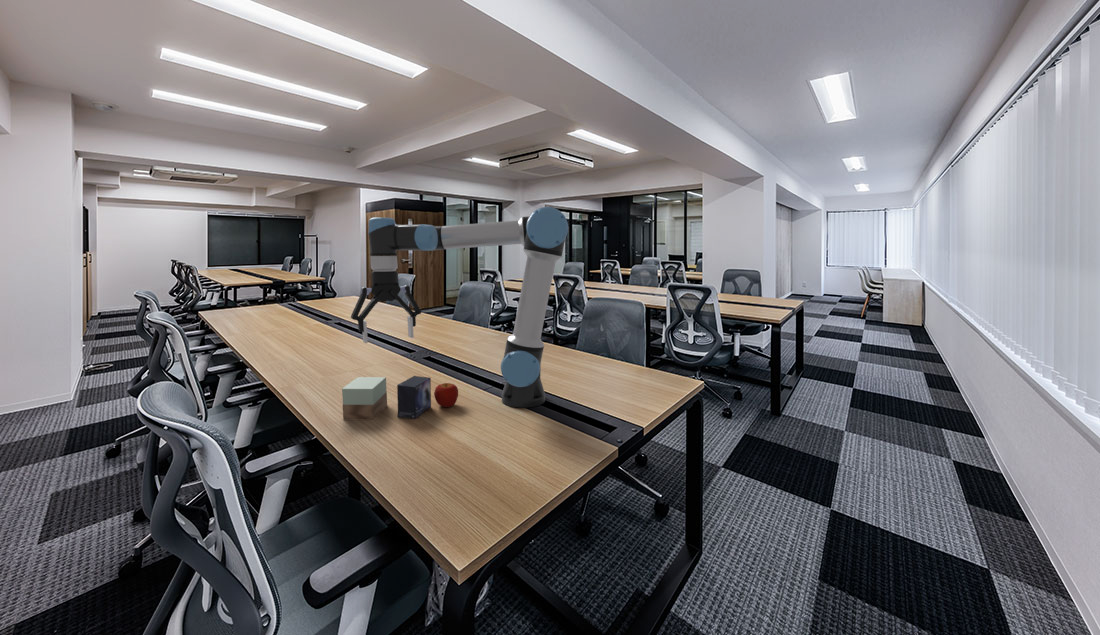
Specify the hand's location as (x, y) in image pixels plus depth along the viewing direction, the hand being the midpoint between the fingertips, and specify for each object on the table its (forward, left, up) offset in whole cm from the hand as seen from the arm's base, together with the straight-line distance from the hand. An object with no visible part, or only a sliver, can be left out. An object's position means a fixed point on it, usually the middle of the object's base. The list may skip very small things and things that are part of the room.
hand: (388, 339), depth 131 cm
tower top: (+8, -1, -19) cm, 21 cm away
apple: (-16, -7, -24) cm, 29 cm away
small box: (-7, -1, -24) cm, 25 cm away
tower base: (+8, -1, -24) cm, 25 cm away
